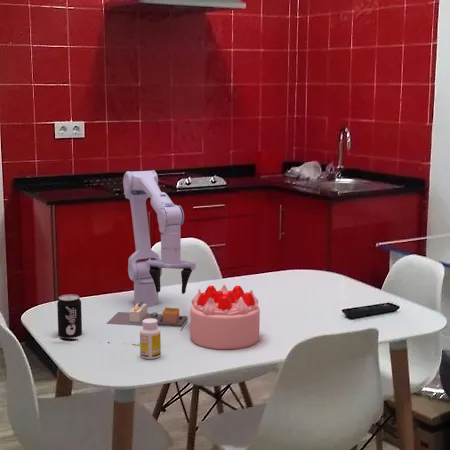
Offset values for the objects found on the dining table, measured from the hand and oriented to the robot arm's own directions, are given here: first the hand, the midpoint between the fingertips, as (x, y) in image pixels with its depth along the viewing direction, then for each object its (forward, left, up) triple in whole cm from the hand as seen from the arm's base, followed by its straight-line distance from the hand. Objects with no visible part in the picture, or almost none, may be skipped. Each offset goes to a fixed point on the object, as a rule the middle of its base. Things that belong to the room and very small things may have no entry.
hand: (171, 292), depth 225 cm
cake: (+8, +17, -11) cm, 22 cm away
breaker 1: (-6, -11, -9) cm, 15 cm away
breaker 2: (-1, -11, -9) cm, 14 cm away
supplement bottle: (+26, 0, -11) cm, 28 cm away
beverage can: (+16, -26, -11) cm, 32 cm away
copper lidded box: (0, 0, -10) cm, 10 cm away
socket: (0, 0, -10) cm, 10 cm away
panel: (-1, -12, -10) cm, 16 cm away
